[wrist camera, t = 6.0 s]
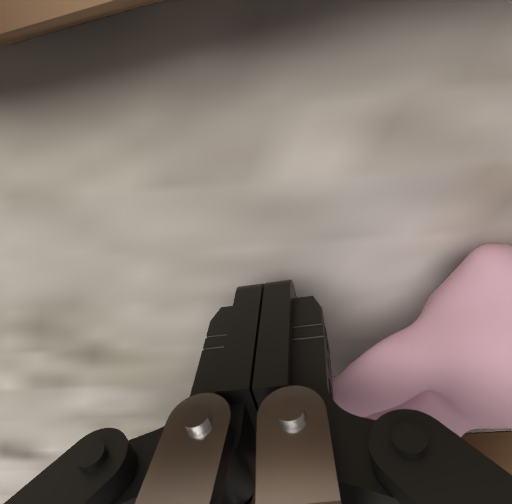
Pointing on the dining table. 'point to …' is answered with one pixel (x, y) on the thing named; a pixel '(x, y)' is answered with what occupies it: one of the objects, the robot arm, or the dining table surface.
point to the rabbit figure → (445, 353)
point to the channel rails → (109, 3)
